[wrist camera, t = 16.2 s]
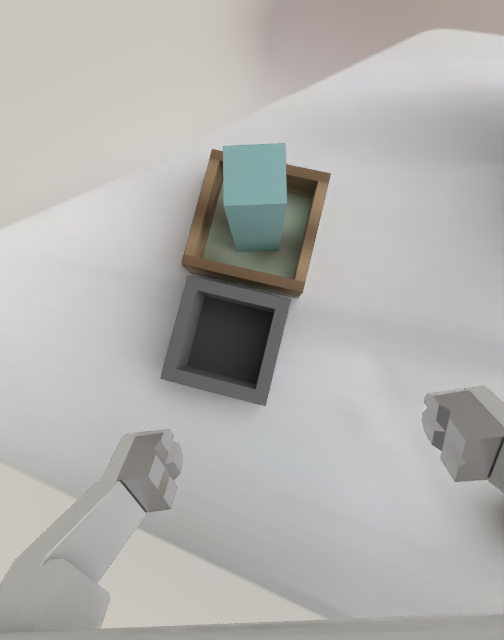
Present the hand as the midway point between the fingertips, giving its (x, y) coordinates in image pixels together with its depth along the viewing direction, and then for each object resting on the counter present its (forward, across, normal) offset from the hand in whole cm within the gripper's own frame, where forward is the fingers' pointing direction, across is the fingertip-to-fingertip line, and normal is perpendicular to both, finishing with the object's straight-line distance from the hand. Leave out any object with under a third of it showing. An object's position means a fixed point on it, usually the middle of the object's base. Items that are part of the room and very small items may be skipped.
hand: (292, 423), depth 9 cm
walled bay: (+25, +1, -1) cm, 25 cm away
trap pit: (+18, +6, +8) cm, 21 cm away
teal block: (+24, +1, -1) cm, 24 cm away
